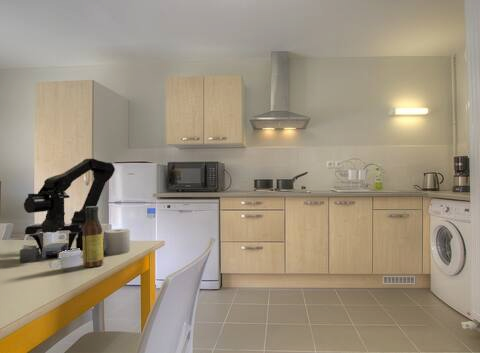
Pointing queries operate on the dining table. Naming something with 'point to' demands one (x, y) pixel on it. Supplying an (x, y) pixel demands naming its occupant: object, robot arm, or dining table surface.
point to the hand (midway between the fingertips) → (55, 251)
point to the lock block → (53, 249)
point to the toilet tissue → (116, 241)
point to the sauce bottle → (92, 238)
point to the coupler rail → (30, 254)
